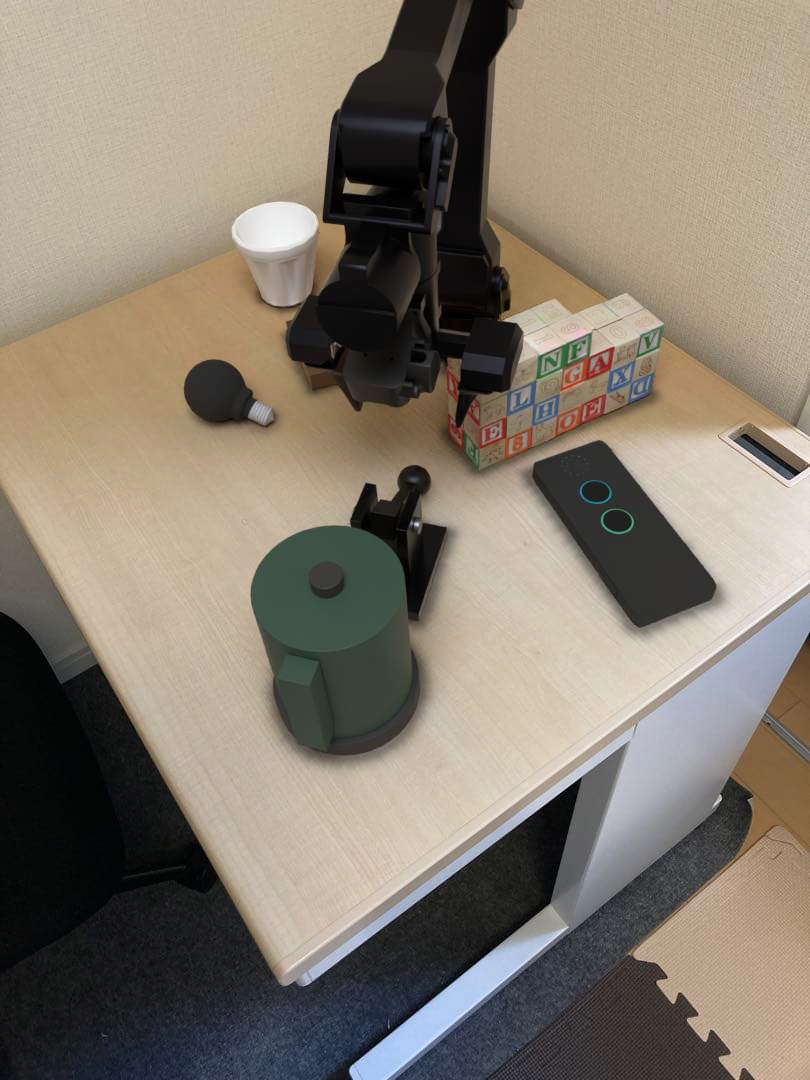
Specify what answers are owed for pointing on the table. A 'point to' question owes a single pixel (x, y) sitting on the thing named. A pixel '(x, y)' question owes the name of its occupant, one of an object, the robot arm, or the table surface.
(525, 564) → the table surface
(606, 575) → the smart home device
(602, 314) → the stack of blocks
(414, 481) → the switch lever
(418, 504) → the switch bracket
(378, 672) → the kettle
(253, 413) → the light bulb
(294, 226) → the cup
